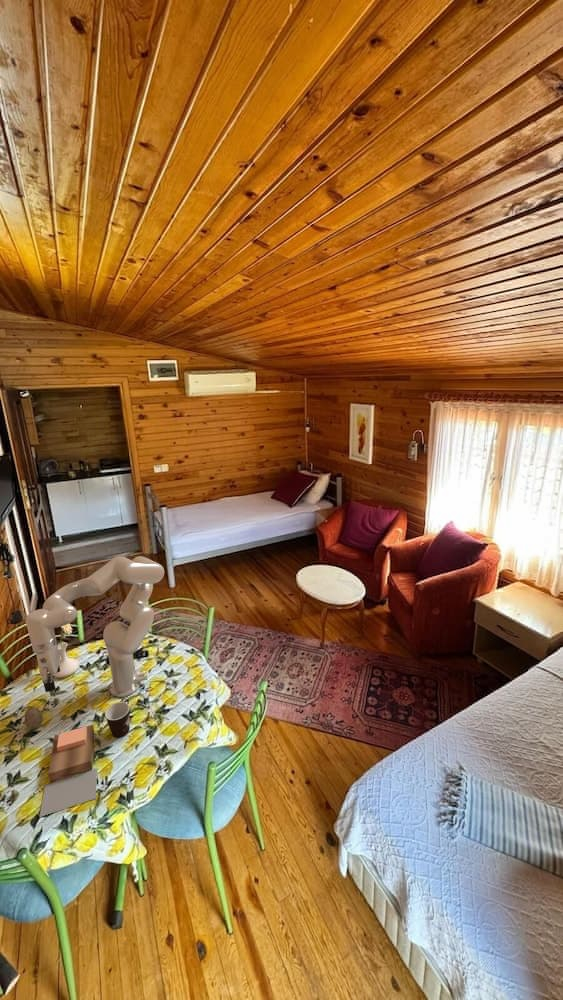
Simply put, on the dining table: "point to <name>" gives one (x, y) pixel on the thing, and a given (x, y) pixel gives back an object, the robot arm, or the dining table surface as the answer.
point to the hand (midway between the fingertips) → (53, 681)
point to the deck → (72, 758)
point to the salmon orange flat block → (72, 738)
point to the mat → (69, 792)
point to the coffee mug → (118, 718)
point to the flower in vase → (65, 664)
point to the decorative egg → (33, 718)
